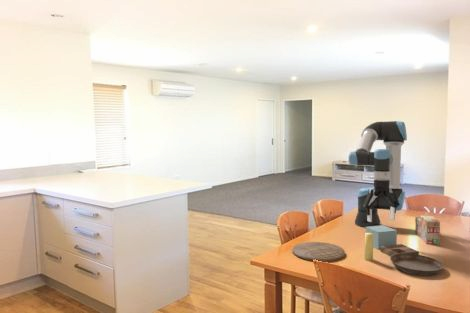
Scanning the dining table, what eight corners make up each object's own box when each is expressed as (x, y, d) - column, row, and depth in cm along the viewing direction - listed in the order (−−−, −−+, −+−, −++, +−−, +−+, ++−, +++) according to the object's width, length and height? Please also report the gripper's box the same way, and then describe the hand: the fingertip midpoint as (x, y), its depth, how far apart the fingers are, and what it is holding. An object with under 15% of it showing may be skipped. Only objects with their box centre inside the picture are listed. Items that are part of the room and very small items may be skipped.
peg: (363, 258, 173) (363, 233, 172) (369, 257, 174) (370, 232, 173) (367, 261, 170) (368, 235, 169) (374, 260, 170) (374, 234, 170)
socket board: (380, 251, 182) (380, 246, 182) (401, 248, 185) (401, 244, 185) (396, 259, 171) (396, 254, 171) (418, 256, 174) (418, 251, 174)
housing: (365, 243, 195) (365, 226, 195) (383, 241, 198) (383, 225, 197) (378, 249, 185) (378, 232, 185) (396, 247, 188) (396, 230, 187)
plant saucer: (426, 259, 171) (426, 252, 171) (454, 277, 151) (454, 269, 150) (382, 260, 170) (382, 253, 170) (404, 278, 150) (404, 270, 150)
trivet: (282, 249, 188) (282, 246, 188) (323, 243, 198) (323, 239, 198) (311, 266, 165) (311, 262, 165) (356, 257, 175) (356, 253, 175)
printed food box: (415, 232, 214) (415, 211, 213) (426, 233, 212) (427, 212, 212) (426, 244, 193) (427, 220, 192) (439, 244, 192) (440, 221, 191)
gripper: (364, 181, 182) (363, 223, 184) (407, 179, 189) (406, 220, 190) (355, 179, 190) (355, 220, 191) (397, 177, 196) (396, 217, 197)
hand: (381, 220), depth 190 cm, fingers open, 13 cm apart
